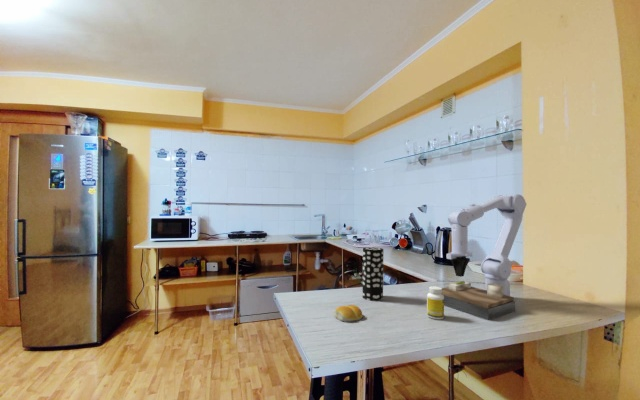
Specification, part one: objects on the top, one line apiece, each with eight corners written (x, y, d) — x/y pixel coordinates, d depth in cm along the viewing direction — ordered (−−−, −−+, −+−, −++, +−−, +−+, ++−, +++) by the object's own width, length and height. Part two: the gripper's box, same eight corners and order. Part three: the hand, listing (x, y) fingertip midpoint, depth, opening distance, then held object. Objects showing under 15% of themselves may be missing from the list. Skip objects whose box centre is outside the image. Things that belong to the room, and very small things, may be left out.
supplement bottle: (445, 320, 92) (445, 290, 92) (428, 319, 93) (428, 289, 93) (442, 314, 97) (442, 286, 97) (425, 313, 98) (425, 285, 98)
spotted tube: (367, 293, 120) (368, 246, 121) (386, 297, 116) (386, 248, 116) (358, 298, 114) (359, 248, 114) (377, 302, 109) (378, 250, 110)
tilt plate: (462, 287, 119) (462, 274, 120) (513, 300, 102) (513, 286, 102) (436, 292, 111) (436, 279, 111) (488, 308, 94) (488, 292, 94)
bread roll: (366, 319, 93) (367, 306, 93) (345, 324, 88) (346, 311, 88) (350, 311, 100) (351, 299, 100) (330, 315, 95) (330, 303, 95)
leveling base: (460, 295, 120) (460, 286, 120) (515, 311, 102) (515, 301, 102) (433, 301, 111) (433, 292, 111) (488, 320, 92) (488, 309, 93)
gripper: (458, 243, 104) (458, 280, 104) (479, 241, 112) (480, 275, 111) (441, 241, 110) (441, 276, 110) (462, 239, 118) (463, 272, 117)
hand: (459, 275), depth 111 cm, fingers closed
